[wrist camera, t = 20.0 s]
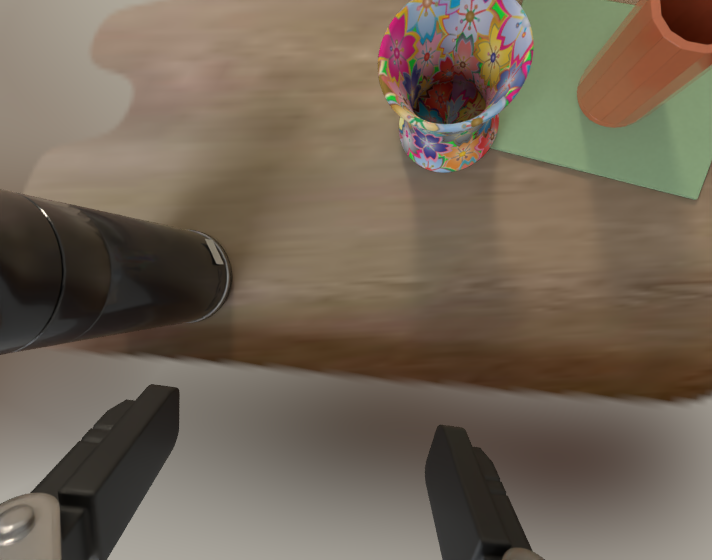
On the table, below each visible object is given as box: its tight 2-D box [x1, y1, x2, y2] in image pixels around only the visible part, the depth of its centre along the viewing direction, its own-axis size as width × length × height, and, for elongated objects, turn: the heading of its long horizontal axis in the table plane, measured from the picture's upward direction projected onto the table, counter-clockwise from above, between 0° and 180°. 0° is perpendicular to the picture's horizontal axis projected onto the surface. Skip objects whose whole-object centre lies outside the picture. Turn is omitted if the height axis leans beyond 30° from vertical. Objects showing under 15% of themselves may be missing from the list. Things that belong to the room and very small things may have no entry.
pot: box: [577, 0, 712, 128], centre depth 25 cm, size 6×6×10 cm
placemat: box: [490, 0, 712, 200], centre depth 30 cm, size 18×14×1 cm
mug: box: [378, 0, 534, 172], centre depth 27 cm, size 12×9×11 cm
